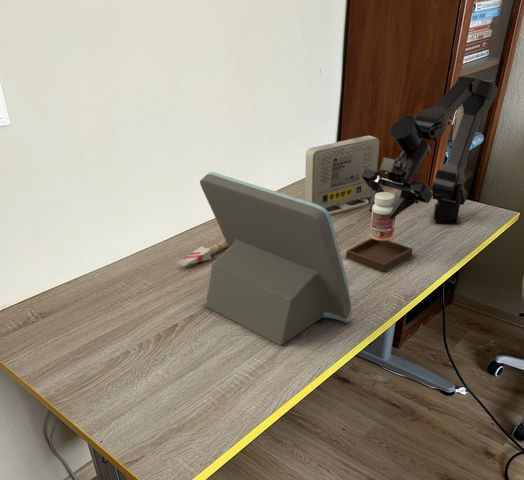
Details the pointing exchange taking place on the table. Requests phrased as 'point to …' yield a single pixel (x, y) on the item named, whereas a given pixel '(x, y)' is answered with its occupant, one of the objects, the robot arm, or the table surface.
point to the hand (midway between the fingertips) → (380, 214)
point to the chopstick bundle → (202, 254)
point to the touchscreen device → (274, 260)
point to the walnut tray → (379, 254)
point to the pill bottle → (382, 217)
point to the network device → (340, 172)
